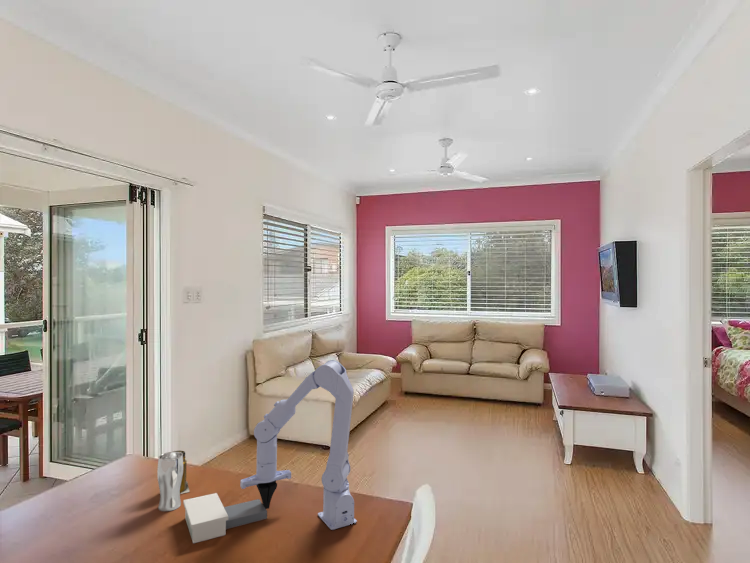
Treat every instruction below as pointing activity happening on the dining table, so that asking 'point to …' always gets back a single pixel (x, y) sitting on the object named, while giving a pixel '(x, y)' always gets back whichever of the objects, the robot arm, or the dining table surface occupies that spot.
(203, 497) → the white rectangular block
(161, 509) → the beer glass
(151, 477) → the dining table surface
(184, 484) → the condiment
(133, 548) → the dining table surface
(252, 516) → the slate tile
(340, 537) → the dining table surface
